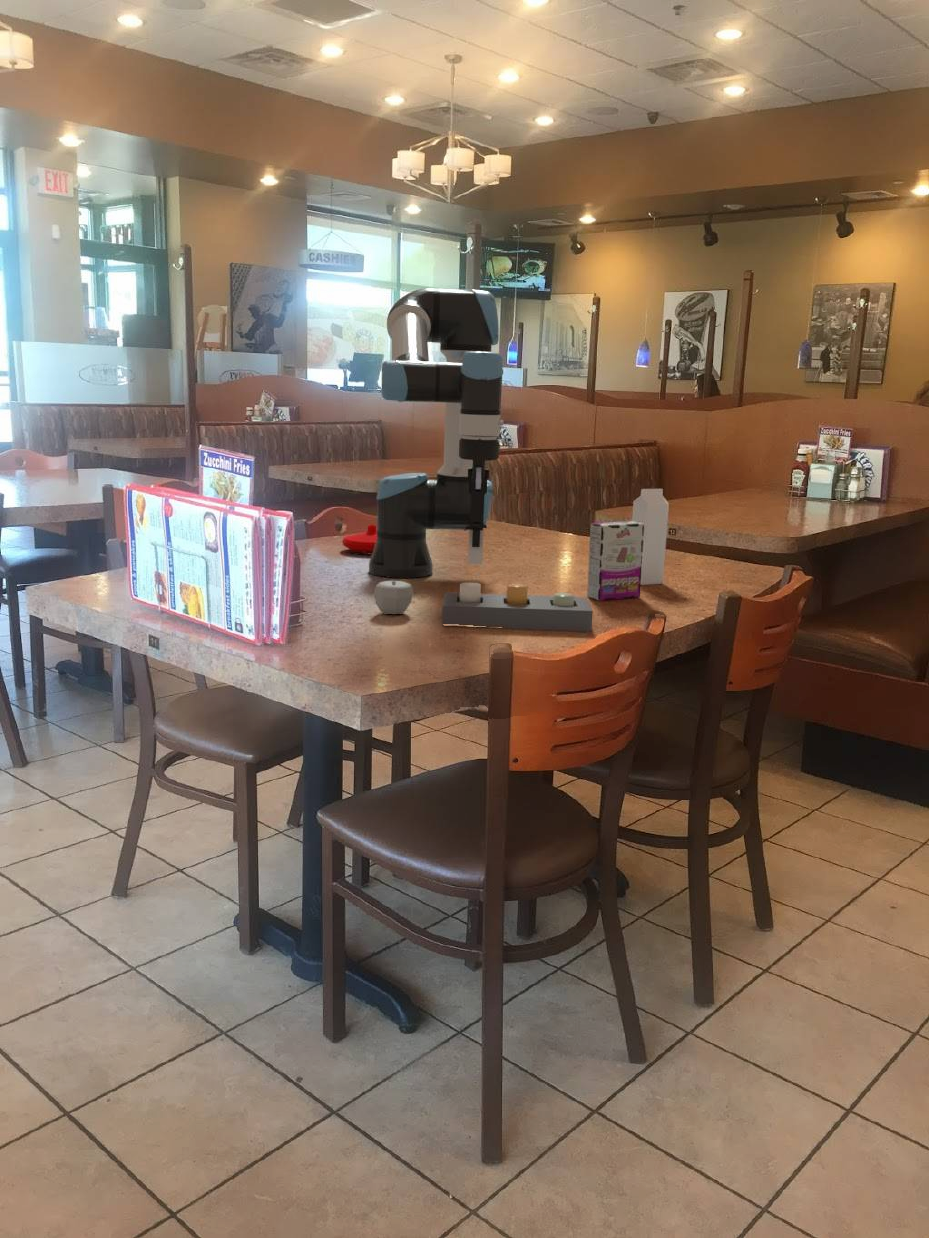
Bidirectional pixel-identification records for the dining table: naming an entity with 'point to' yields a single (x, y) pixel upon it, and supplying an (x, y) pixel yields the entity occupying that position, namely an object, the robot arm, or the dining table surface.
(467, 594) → the button ivory
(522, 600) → the button amber
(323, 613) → the dining table surface
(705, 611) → the dining table surface
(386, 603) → the apple
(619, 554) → the candy bar box
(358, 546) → the red disc with nozzle
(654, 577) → the milk
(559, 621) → the block
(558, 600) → the button sage
